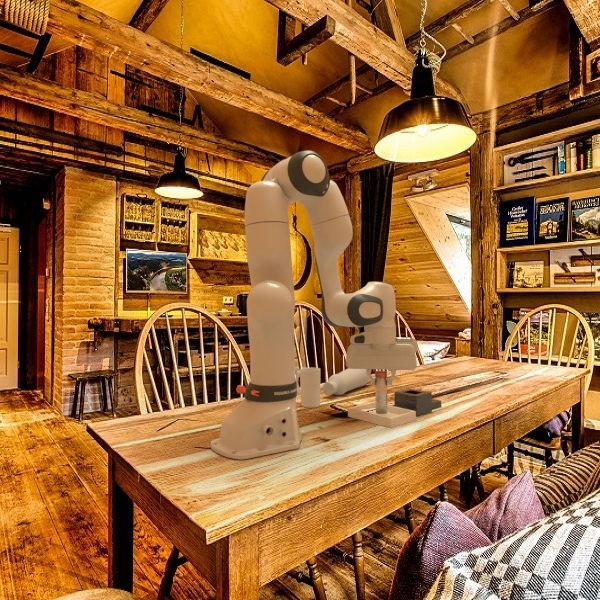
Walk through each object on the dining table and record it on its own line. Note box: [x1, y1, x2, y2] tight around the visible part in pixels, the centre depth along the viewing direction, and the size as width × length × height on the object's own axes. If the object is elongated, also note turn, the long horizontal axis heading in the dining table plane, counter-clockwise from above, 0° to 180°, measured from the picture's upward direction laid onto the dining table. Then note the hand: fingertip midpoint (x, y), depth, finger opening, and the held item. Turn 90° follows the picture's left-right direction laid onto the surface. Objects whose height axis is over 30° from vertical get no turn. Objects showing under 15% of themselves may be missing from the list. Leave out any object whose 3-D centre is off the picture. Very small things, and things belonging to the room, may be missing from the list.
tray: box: [347, 401, 417, 429], centre depth 122 cm, size 12×16×2 cm
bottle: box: [322, 367, 372, 397], centre depth 160 cm, size 9×9×30 cm
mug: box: [295, 367, 321, 409], centre depth 139 cm, size 10×7×12 cm, turn 47°
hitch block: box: [393, 388, 442, 418], centre depth 132 cm, size 16×8×6 cm, turn 131°
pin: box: [374, 370, 388, 414], centre depth 122 cm, size 3×3×12 cm
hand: (381, 384), depth 122 cm, fingers closed on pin, 3 cm apart
